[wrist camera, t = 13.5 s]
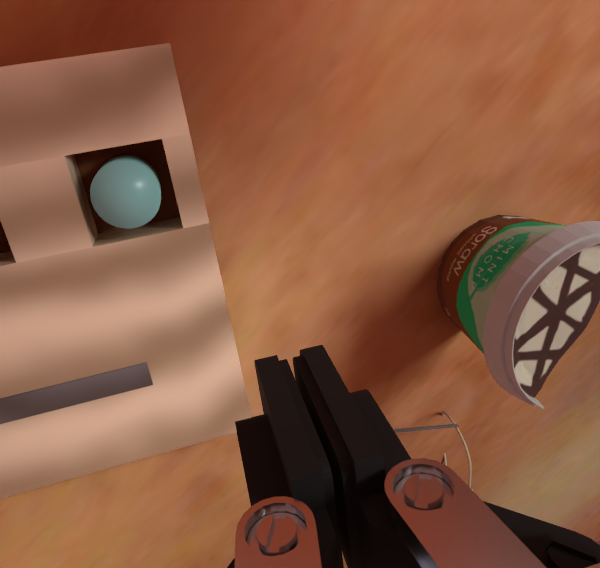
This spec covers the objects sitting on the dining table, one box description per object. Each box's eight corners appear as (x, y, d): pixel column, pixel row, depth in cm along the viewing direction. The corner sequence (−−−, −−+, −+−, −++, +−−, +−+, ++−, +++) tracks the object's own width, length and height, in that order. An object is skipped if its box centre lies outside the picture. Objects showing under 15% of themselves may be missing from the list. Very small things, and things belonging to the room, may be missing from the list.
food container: (478, 166, 36) (584, 192, 27) (538, 203, 39) (655, 237, 30) (392, 318, 39) (465, 387, 30) (454, 344, 41) (539, 415, 32)
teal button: (88, 160, 30) (81, 168, 27) (152, 149, 30) (151, 155, 27) (106, 222, 31) (101, 234, 28) (167, 209, 32) (168, 221, 29)
